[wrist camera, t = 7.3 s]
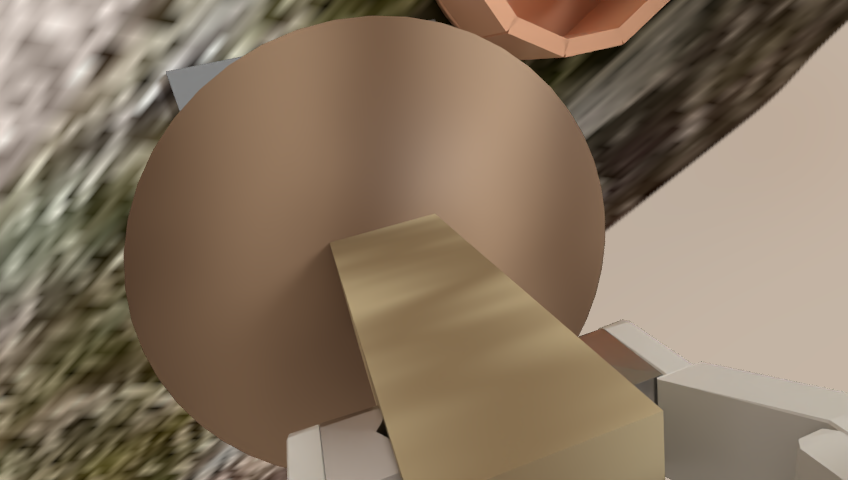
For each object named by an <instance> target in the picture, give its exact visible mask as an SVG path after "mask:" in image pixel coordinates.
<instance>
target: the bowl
mask: <svg viewBox="0 0 848 480" xmlns="http://www.w3.org/2000/svg"><path fill="white" fill-rule="evenodd" d="M669 1H670V0H436V2H437V5H438V6H439V8H440V9H441V11H442V12H443V14H444V15H445V17H446V18H447V19H448V21H449V22H450V23H451V24H452V25H453V27H456V28H459V29H462V30H465V31H468V32H471V33H474V34H476V35H478V36H480V37H482V38H484V39H486V40H488V41H489V42H491V43H493V44H495V45H497V46H499V47H501V48H503V49H505V50H506V51H507V52H509V53H510V54H512V55H513V56H515V57H516V58H517V59H519V60H531V59H547V58H563V57H569V56H574V55H578V54H583V53H587V52H592V51H596V50H601V49H605V48H610V47H615V46H619V45H622V44H624V43H625V42H627V41H628V40H629V39H630V38H631V37H632V36H633V35H634V34H635V33H636V32H637V31H638V30H639V29H640V28H641V27H642V26H643V25H645V24H646V23H647V22H648V21H649V20H650V19H651V18H652V17H653V16H654V15H655V14H656V13H657V12H658V11H659V10H660V9H661V8H662V7H664V6H665V5H666V4H667V3H668V2H669Z"/></svg>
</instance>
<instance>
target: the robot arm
mask: <svg viewBox="0 0 848 480" xmlns="http://www.w3.org/2000/svg"><path fill="white" fill-rule="evenodd" d="M579 338H580V339H581V340H582V341H583V342H584V343H585V344H587V345H588V346H589V347H590V348H591V349H592V350H594V351H595V352H596V353H597V354H598V355H599V356H601V357H602V358H603V359H604V360H605V361H606V362H607V363H609V364H610V365H611V366H612V367H613V368H614V369H616V370H617V371H618V372H619V373H620V374H621V375H623V376H624V377H625V378H626V379H627V380H628V381H630V382H631V383H632V384H633V385H634V386H635V387H636V388H638V389H639V390H640V391H641V392H642V393H643V394H645V395H646V396H647V397H648V398H649V399H650V400H652V401H653V402H654V403H655V404H656V405H657V406H658V407H660V408H661V409H662V410H663V417H664V456H665V477H667V478H669V479H671V480H848V393H847V392H843V391H838V390H833V389H828V388H824V387H819V386H814V385H810V384H805V383H800V382H795V381H791V380H786V379H781V378H777V377H772V376H767V375H762V374H757V373H753V372H748V371H743V370H739V369H734V368H729V367H725V366H720V365H715V364H711V363H706V362H698V363H696V364H692V363H691V362H689V361H687V360H686V359H685V358H683V357H682V356H680V355H679V354H677V353H676V352H674V351H673V350H672V349H670V348H669V347H667V346H666V345H664V344H663V343H661V342H660V341H658V340H657V339H655V338H654V337H652V336H651V335H650V334H648V333H647V332H645V331H644V330H642V329H641V328H639V327H638V326H636V325H635V324H633V323H632V322H630V321H627V320H620V321H617V322H615V323H612V324H610V325H607V326H604V327H602V328H599V329H598V330H596V331H594V332H591V333H588V334H585V335H582V336H579ZM286 442H287V480H402V479H401V476H400V472H399V469H398V466H397V462H396V459H395V456H394V453H393V449H392V446H391V443H390V440H389V438H388V435H387V431H386V427H385V424H384V420H383V417H382V414H381V410H380V407H379V405H377V406H374V407H370V408H367V409H364V410H361V411H358V412H355V413H352V414H348V415H345V416H342V417H339V418H336V419H333V420H330V421H326V422H323V423H320V425H315V426H312V427H309V428H306V429H303V430H300V431H297V432H294V433H291V434H289V435H288V438H287V441H286Z"/></svg>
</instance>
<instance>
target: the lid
mask: <svg viewBox="0 0 848 480" xmlns="http://www.w3.org/2000/svg"><path fill="white" fill-rule="evenodd" d="M604 246H605V212H604V204H603V196H602V189H601V185H600V181H599V177H598V173H597V169H596V166H595V162H594V159H593V157H592V154H591V152H590V150H589V147H588V145H587V142H586V140H585V137H584V135H583V133H582V132H581V130H580V128H579V127H578V125H577V123H576V121H575V120H574V118H573V116H572V115H571V113H570V111H569V110H568V109H567V107H566V106H565V105H564V103H563V102H562V101H561V100H560V98H559V97H558V96H557V95H556V93H555V92H554V91H553V90H552V88H551V87H550V86H549V85H548V84H547V83H546V82H545V81H544V80H542V79H541V78H540V77H539V76H538V75H537V74H536V73H535V72H534V71H533V70H532V69H531V68H530V67H529V66H527V65H526V64H525V63H523V62H522V61H520V60H519V59H517V58H516V57H515V56H513V55H512V54H510V53H509V52H507V51H506V50H505V49H503V48H501V47H499V46H497V45H495V44H493V43H491V42H489V41H488V40H486V39H484V38H482V37H480V36H478V35H476V34H474V33H471V32H468V31H465V30H462V29H459V28H456V27H453V26H450V25H447V24H444V23H440V22H434V21H428V20H423V19H417V18H411V17H399V16H364V17H355V18H346V19H338V20H332V21H328V22H324V23H321V24H317V25H313V26H309V27H306V28H302V29H298V30H296V31H293V32H291V33H289V34H286V35H284V36H281V37H279V38H277V39H274V40H272V41H270V42H267V43H265V44H263V45H261V46H259V47H258V48H256V49H254V50H253V51H251V52H249V53H248V54H246V55H245V56H243V57H241V58H240V59H238V60H236V61H235V62H233V63H231V64H230V65H228V66H227V67H226V68H225V69H224V70H222V71H221V72H220V73H219V74H218V75H216V76H215V77H214V78H213V79H212V80H210V81H209V82H208V83H207V84H206V85H204V86H203V87H202V88H201V89H200V90H199V91H198V92H197V93H196V94H195V95H194V96H193V97H192V99H191V100H190V101H189V102H188V103H187V104H186V105H185V106H184V108H183V109H182V110H181V111H180V112H179V113H178V114H177V115H176V116H175V118H174V119H173V120H172V122H171V123H170V125H169V126H168V128H167V130H166V131H165V133H164V134H163V136H162V137H161V139H160V140H159V142H158V143H157V145H156V146H155V148H154V149H153V151H152V153H151V156H150V158H149V160H148V162H147V164H146V167H145V169H144V171H143V173H142V175H141V178H140V180H139V182H138V184H137V188H136V192H135V195H134V199H133V202H132V206H131V210H130V213H129V217H128V222H127V231H126V239H125V248H124V271H125V290H126V295H127V300H128V304H129V309H130V314H131V319H132V323H133V325H134V328H135V331H136V333H137V336H138V339H139V342H140V344H141V347H142V350H143V352H144V354H145V355H146V357H147V359H148V361H149V363H150V364H151V366H152V368H153V370H154V372H155V373H156V375H157V377H158V379H159V380H160V381H161V383H162V384H163V385H164V386H165V388H166V389H167V390H168V392H169V393H170V394H171V395H172V397H173V398H174V399H175V401H176V402H177V403H178V404H179V405H180V406H181V407H182V408H183V409H184V410H185V411H186V412H187V413H188V414H189V415H190V416H191V417H192V418H194V419H195V420H196V421H197V422H198V423H199V424H200V425H201V426H203V427H204V428H206V429H207V430H208V431H210V432H211V433H212V434H214V435H215V436H217V437H218V438H219V439H221V440H222V441H224V442H226V443H227V444H229V445H231V446H233V447H235V448H237V449H239V450H240V451H242V452H244V453H246V454H248V455H250V456H253V457H256V458H258V459H261V460H263V461H266V462H269V463H271V464H274V465H277V466H281V467H285V468H287V442H286V441H287V438H288V435H289V434H291V433H294V432H297V431H300V430H303V429H306V428H309V427H312V426H315V425H320V423H323V422H326V421H330V420H333V419H336V418H339V417H342V416H345V415H348V414H352V413H355V412H358V411H361V410H364V409H367V408H370V407H374V406H377V405H379V407H380V410H381V414H382V417H383V420H384V424H385V427H386V431H387V435H388V438H389V440H390V443H391V446H392V449H393V453H394V456H395V459H396V462H397V466H398V469H399V472H400V476H401V479H402V480H665V456H664V417H663V410H662V409H661V408H660V407H658V406H657V405H656V404H655V403H654V402H653V401H652V400H650V399H649V398H648V397H647V396H646V395H645V394H643V393H642V392H641V391H640V390H639V389H638V388H636V387H635V386H634V385H633V384H632V383H631V382H630V381H628V380H627V379H626V378H625V377H624V376H623V375H621V374H620V373H619V372H618V371H617V370H616V369H614V368H613V367H612V366H611V365H610V364H609V363H607V362H606V361H605V360H604V359H603V358H602V357H601V356H599V355H598V354H597V353H596V352H595V351H594V350H592V349H591V348H590V347H589V346H588V345H587V344H585V343H584V342H583V341H582V340H581V339H580V338H579V337H578V336H579V334H580V332H581V330H582V327H583V326H584V324H585V321H586V319H587V317H588V314H589V311H590V309H591V306H592V303H593V300H594V298H595V295H596V291H597V287H598V283H599V278H600V274H601V270H602V263H603V254H604Z"/></svg>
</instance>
